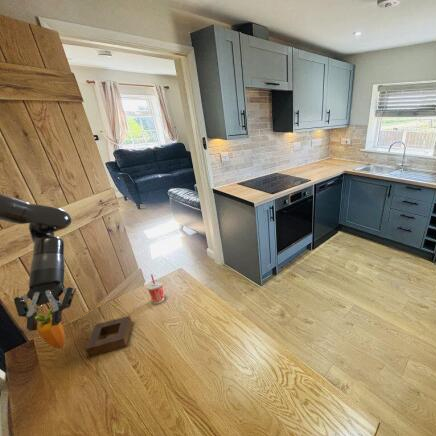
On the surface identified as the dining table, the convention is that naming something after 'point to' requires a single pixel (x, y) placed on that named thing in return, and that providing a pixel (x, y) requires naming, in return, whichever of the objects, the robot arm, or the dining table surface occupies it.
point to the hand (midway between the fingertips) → (44, 327)
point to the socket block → (112, 343)
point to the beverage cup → (155, 290)
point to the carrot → (50, 331)
